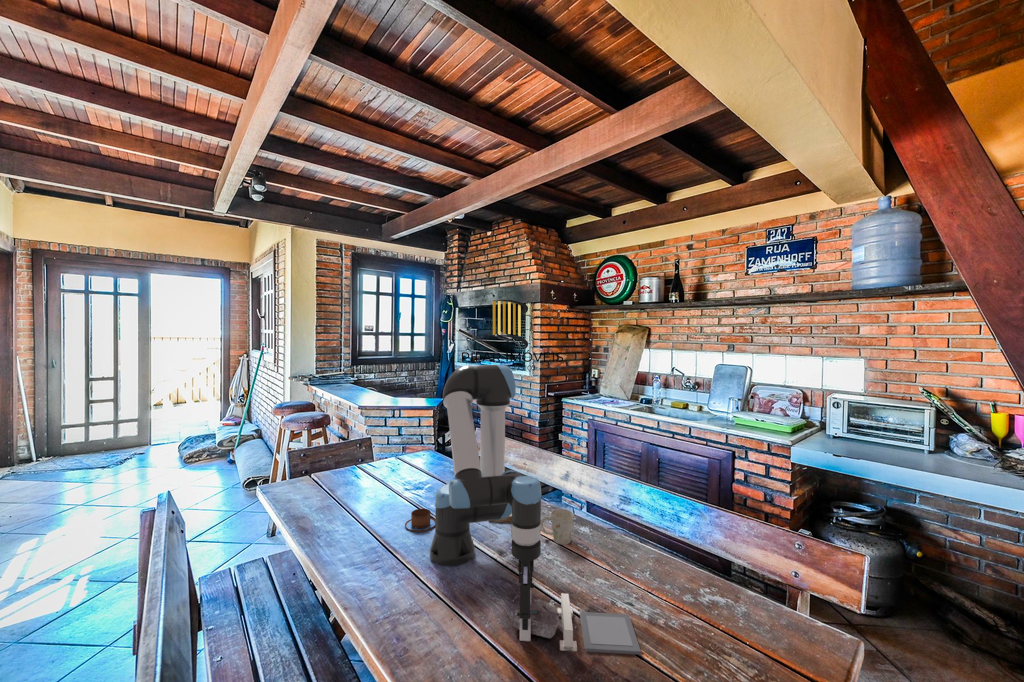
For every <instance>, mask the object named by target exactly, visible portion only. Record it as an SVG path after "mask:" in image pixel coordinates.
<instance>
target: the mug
mask: <svg viewBox="0 0 1024 682" xmlns="http://www.w3.org/2000/svg"><path fill="white" fill-rule="evenodd" d="M574 516H575V514H574V512H573V511H571V510H569V509H566V508H565V509H562V508H558V509H554V510H552V511H550V516H548V515H547V516H543V517H541V526H540V527H543V531H542V532H543V533H544V534H545V535H551V536H553V541H554V542H555V543H556V544H558V545H568V544H570V542H571V541H572V540H571V539H572V532H573V525H574ZM545 521H551V527H552V531H547V530H546V529H545V527H544V523H545Z"/></svg>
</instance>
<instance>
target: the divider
mask: <svg viewBox="0 0 1024 682" xmlns="http://www.w3.org/2000/svg"><path fill="white" fill-rule="evenodd" d="M570 603H571V602H570V596H569V593H564V592H562V593H560V607H557V608H556V609H557V610H556V611H557V613H559V617H561V628H562V638H563V640H562V639H561V640H559V650H560V651H561V652H562V651H567V652H578V645H577V640H574V638H573V637H574V626H573V621H572V620H573V619H572V618H573V615H574V612H573V608H571V604H570Z"/></svg>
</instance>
